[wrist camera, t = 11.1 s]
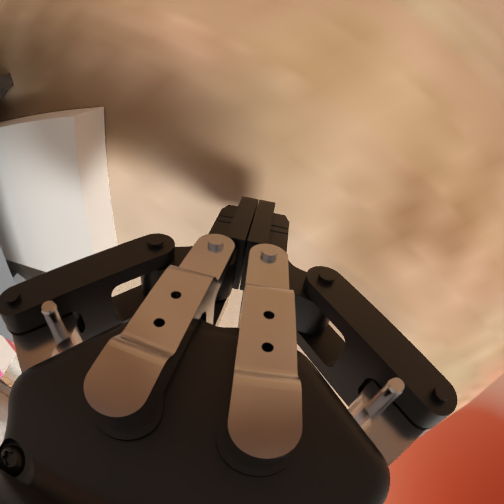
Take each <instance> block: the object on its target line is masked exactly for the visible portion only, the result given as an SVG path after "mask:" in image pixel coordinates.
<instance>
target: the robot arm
mask: <svg viewBox="0 0 504 504" xmlns="http://www.w3.org/2000/svg"><path fill="white" fill-rule="evenodd" d="M257 206H258V207H257ZM274 207H275V203H274V202H269V201H264V200H259V203H258V199H253V198H248V197H242V199H241V201H240V203H239V205H238V206H233V205H228V206H226V207H224V208H223V209H222V210H221V211H220V213H219V216H218V217H217V219H216V221H215V223H214V225H213V227H212V228H211V230H210V232H209V234H207V235H204V236H202V237H200V238H199V239H198V240H197V241H196V243H195V244H194V246H190V247H175V243H174V240H173V239H172V238H171V237H169V236H167V235H164V234H149V235H146V236H143V237H140V238H137V239H134V240H132V241H129V242H126V243H123V244H120V245H117V246H115V247H112V248H109V249H106V250H104V251H101V252H98V253H95V254H93V255H90V256H87V257H85V258H82V259H79V260H77V261H74V262H71V263H69V264H66V265H63V266H61V267H58V268H56V269H53V270H51V271H48V272H46V273H43V274H41V275H38V276H36V277H33V278H31V279H28V280H26V281H23V282H21V283H19V284H16V285H14V286H11V287H9V288H8V289H6V290H5V291H4V292H3V293H2V294H1V295H0V315H1V317H2V319H3V321H4V323H5V324H6V328H7V330H8V332H9V333H10V335H11V337H12V338H13V341H14V345H15V349H16V353H17V357H18V361H19V364H20V368H21V371H22V374H21V375H20V376H19V377H18V378H17V380H16V381H15V382H14V384H13V386H12V388H11V391H10V394H9V399H8V417H7V426H6V431H5V436H4V439H3V442H2V444H1V446H0V504H383V503H384V502H385V500H386V497H387V494H388V492H389V486H390V472H389V468H388V466H389V465H390V464H391V463H392V462H393V461H394V460H396V459H397V458H398V457H399V456H400V455H401V454H402V453H403V452H404V451H405V450H406V449H407V448H408V447H409V446H410V445H411V444H412V443H413V442H414V441H415V440H416V439H417V438H419V437H420V436H422V435H423V434H425V433H426V432H427V431H429V430H430V429H432V428H433V427H434V426H436V425H437V424H438V423H439V422H441V421H442V420H443V419H445V418H446V417H447V416H448V415H450V414H451V413H452V412H453V411H454V410H455V408H456V405H457V395H456V392H455V389H454V388H453V386H452V385H451V384H450V382H449V381H448V380H447V379H446V378H445V377H444V376H443V375H442V374H441V373H440V372H439V371H438V370H437V369H436V368H435V367H434V366H433V365H432V364H431V363H430V362H429V361H428V359H427V358H426V357H425V356H424V355H423V354H422V353H421V352H420V351H419V350H418V349H417V348H416V347H415V346H414V345H413V344H412V343H411V342H410V341H409V340H408V339H407V338H406V337H405V336H404V335H403V334H402V333H401V332H400V331H399V330H398V329H397V328H396V327H395V326H394V325H393V324H392V323H391V322H390V321H389V320H388V319H387V318H386V317H385V316H383V315H382V314H381V313H380V312H379V311H378V310H377V309H376V308H375V307H374V306H373V305H372V304H371V303H370V302H369V301H368V300H367V299H366V298H365V297H364V296H363V295H362V294H361V293H360V292H359V291H357V290H356V289H355V288H354V287H353V286H352V285H351V284H350V283H349V282H348V281H347V280H346V279H345V278H344V277H343V276H341V275H340V274H339V273H338V272H337V271H335V270H333V269H331V268H328V267H323V266H316V267H313V268H311V269H309V270H308V272H305V271H303V270H300V269H298V268H296V267H295V266H293V265H292V264H291V263H290V262H289V260H288V255H287V253H286V252H287V241H288V229H289V221H288V219H287V218H286V216H285V215H280V214H275V213H274ZM139 276H141V283H142V285H140V286H138V287H135V288H133V289H130V290H128V291H126V292H123V293H121V294H119V295H116V296H114V297H111V294H112V291H113V289H114V288H115V287H116V286H118V285H120V284H122V283H125V282H127V281H130V280H132V279H135V278H137V277H139ZM241 277H242V278H241ZM240 281H241V285H240V290H243V296H242V302H241V308H240V315H239V323H238V328H222V327H218V325H219V323H220V320H221V318H222V315H223V313H224V311H225V308H226V306H227V303H228V297H229V295H230V293H231V290H232V288H234V289H238V288H239V284H240ZM329 321H331V322H332V323H333V324H334V325H335V326H336V328H337V329H338V330H339V331H340V332H341V333H342V334H343V336H344V338H345V342H344V341H343V339H342V338H341V337H340V336H339V335H338V334H337V333H336V332H335V331H334V330H333V328H332V327H331V326H330V325H329V324H328V323H329ZM297 344H298V345H299V346H300V348H301V349H302V350H303V351H304V353H305V354H306V355H307V356H308V358H309V359H310V360H311V361H312V362H311V361H310V360H309V359H308V358H307V357H306V356H305V355H303V354H302V353H301V352H299V351H298V350H297ZM312 363H313V364H314V365H315V366H316V367H317V369H318V370H319V371H320V372H321V374H322V375H323V376H324V377H325V379H326V380H327V381H328V382H329V383H330V385H331V386H332V387H333V388H334V390H335V391H336V392H337V393H338V394H339V396H340V397H341V398H342V399H343V400H344V402H345V403H346V404H347V405H348V406H349V409H347V408H346V407H345V405H344V404H343V403H342V402H341V400H340V399H339V398H338V396H337V395H336V394H335V392H334V391H333V390H332V388H331V387H330V386H329V385H328V383H327V382H326V381H325V379H324V378H323V377H322V375H321V374H320V373H319V371H318V370H317V369H316V367H315V366H314V365H313V364H312Z"/></svg>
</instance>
